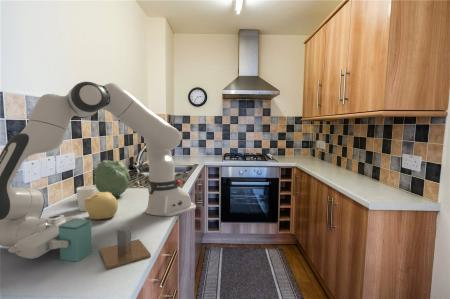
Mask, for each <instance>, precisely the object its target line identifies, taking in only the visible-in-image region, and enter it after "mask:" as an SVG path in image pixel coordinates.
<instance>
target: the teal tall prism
mask: <svg viewBox="0 0 450 299" xmlns="http://www.w3.org/2000/svg"><path fill="white" fill-rule="evenodd" d="M64 239H70V240H71V245H70V246H68V247H67V248H64V247H61V248H59V258H60V261H62V260H63V261H69V262H70V261H71V262H80V261H81V260H83V258H84V259H85V257H87V256H88V255H89V254H91V253H92V252H93V241H92V240H93V238H92V220H91V219H86V220H82V219H73V220H71V221H68V222H66V223H64V224H62V225H60V226H59V240H64Z"/></svg>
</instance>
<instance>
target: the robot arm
mask: <svg viewBox="0 0 450 299" xmlns="http://www.w3.org/2000/svg"><path fill="white" fill-rule="evenodd" d="M100 110H102V111H103V110H104V111H106V112H107V113H108V112H109V113H110V114H111V115H112V116H113V117H115V118H116V119H118V120H119V121H120V122H121V123H122V124H123V125H124V126H126V127H127V128H129V130H131V131H133V132H134V133H136V134H137V135H140V136H141V137H142V138H143V140H144V142H145V147H146V148H145V149H146V154H147V160H148V178H149V180H148V183H147V184H148V185H147V190H148V201H147V206H146V210H145V213H147V214H149V215H152V216H163V217H164V216H165V217H173V216H177V215H180V214H183V213H186V212H190V211H193V210H196V208H197V206H196V204H195V203H194V202H192V200H191V196H190V194H189V192H187V191H186V190H184V189H183V188H181V187H180V186H182V184H183V181H182V180H178V179H176V178H175V161H174V158H173V156H172V151H171V150H174V149H177V148H178V147H179V145H180V143H181V140H182V135H181V133H180V131H179V130H178V128H176V127H174V126H173V125H171V124H170V123H169V122H167V121H166V120H164V119H163V118H162V117H160V116H158V115H157V114H155V113H154V112H153V111H151V110H150V109H149V108H148V107H146V105H144V104H143V103H142V102H140V101H139V100H138V99H137V98H136V97H135V96H134V95H132V94H131V93H130V92H129V91H127V90H126V89H124V88H123V87H121V86H119V85H118V84H116V83H112V82H110V83H107V84H104V85H101V84H97V83H96V82H95V83H94V82H92V81H80V82H79V83H76V84H75V85H74V86H73V87H72V88H71V89H70V90H69V91H68V93H67V95H64V96H62V95H59V94H55V93H45V94H43V95H41V96H40V97H39V99H38V100H37V101H36V103H35V105H34V106H33V109H32V110H31V113H30V115H29V118H28V120H27V123H26V124H25V125H26V126H25V127H24V128H23V129H22V131H21V132H19V133H18V134H14V135H12V137H11V138H10V139H9V140H8V141H7V142H6V144H5V146H4V147H3V149H2V151H1V153H0V246H1V247H6V248H7V247H8V249H7V251H8V253H10V254H16V256H18V257H21V258H25V259H31V260H32V259H33V260H34V259H36V258H39V257H42V256H43V255H44V254H47V253H48V252H49V251H51V250H56V249H60V248H61V247H64V248H67V247H68V246H70V245H71V240H70V239H64V240H59V226H60V225H62V224H64V223H66V222H68V221H71V220H73V219H82V220H87V219H86V218H84V217H83V218H82V217H78V216H65V215H64V214H58V215H54V216H49V217H42V215H43V212H44V209H45V203H46V199H45V196H44V193H43V192H42V191H41V190H40V189H37V188H29V187H15V186H11V185H12V183H13V181H14V179H15V178H16V176H17V173H18V171H19V169H20V167H21V165H22V163H24V161H25V160H26V159H27V158H28V157H30V156H34V155H36V154H41V153H47V152H48V153H49V152H51V151H54V150H56V149H57V148H59V147H60V146H61V145H62V144H63V143H64V140H65V137H66V134H67V131H68V127H69V124H70V121H71V120H72V119H86V118H88V117H91V116H93V115H95V114H97V113H98V112H99V111H100Z"/></svg>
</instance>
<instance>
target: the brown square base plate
mask: <svg viewBox="0 0 450 299" xmlns="http://www.w3.org/2000/svg"><path fill="white" fill-rule="evenodd" d="M131 229H132V228H131V226H120V228H118V229H117V230H116V242H117V244H114V245H110V246H106V247H101V248H99V253H100V255H101V259H102V260H103V263H104V265H105V268H106V270H110V269H111V270H112V269H115V268H118V267H121V266H124V265H127V264H131V263H134V262H138V261H141V260H145V259H147V258H151V257H152V254H151V252H150V251H149V250H148V249H147V248H146V246H145V245H144V243H143V242H142V241H141V240H140V239H139V238H138V239H134V240H132V232H131V231H132V230H131Z"/></svg>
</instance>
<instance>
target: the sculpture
mask: <svg viewBox="0 0 450 299" xmlns="http://www.w3.org/2000/svg"><path fill="white" fill-rule="evenodd" d="M84 203H85V209H86V210H87V211H86V213H87V215H88V216H89V217H90V218H91V219H93V220H106V219H110V218H112V217H114V215H115V214H117V211H118V209H119V208H118V207H119V205H118V204H119V202H118V200H117V198H116V197H114V196H113V195H112V193H109V192H99V191H96V193H95V194H94V195H92V196H90V197H88V198H86V199H85V200H84Z"/></svg>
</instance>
